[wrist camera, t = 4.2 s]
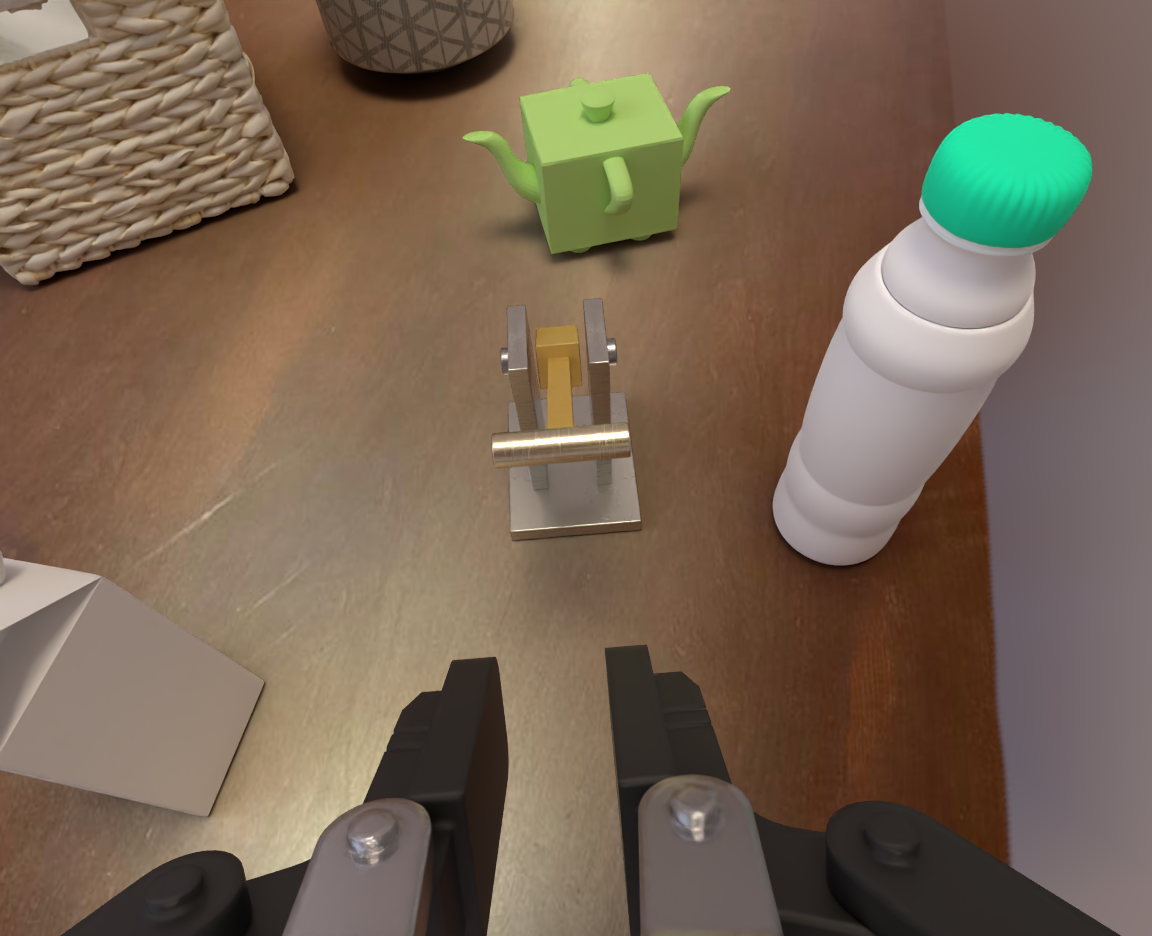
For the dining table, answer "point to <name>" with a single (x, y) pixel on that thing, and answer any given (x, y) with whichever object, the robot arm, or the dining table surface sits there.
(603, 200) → the teapot
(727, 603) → the dining table surface
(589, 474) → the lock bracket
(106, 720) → the milk carton
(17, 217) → the basket
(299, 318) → the dining table surface
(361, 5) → the planter
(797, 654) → the dining table surface
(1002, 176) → the water bottle
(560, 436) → the lever
